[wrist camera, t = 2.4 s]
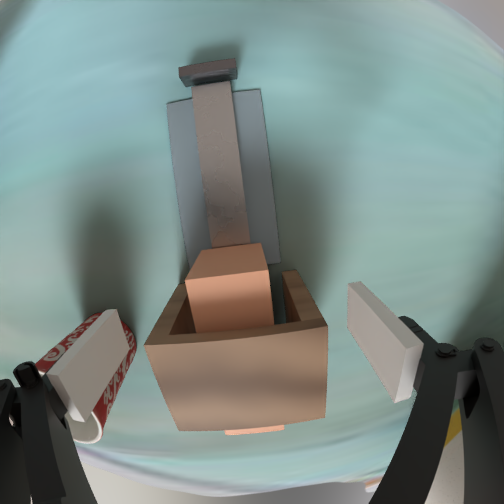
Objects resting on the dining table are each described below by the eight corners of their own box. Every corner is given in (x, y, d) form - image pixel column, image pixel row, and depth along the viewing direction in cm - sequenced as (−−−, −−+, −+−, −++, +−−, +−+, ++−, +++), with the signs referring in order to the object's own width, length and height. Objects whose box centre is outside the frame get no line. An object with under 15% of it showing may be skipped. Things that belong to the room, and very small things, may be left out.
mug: (78, 294, 28) (10, 353, 15) (147, 317, 29) (97, 398, 16) (82, 372, 31) (38, 436, 18) (140, 394, 32) (109, 470, 19)
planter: (469, 310, 31) (591, 411, 4) (514, 353, 35) (584, 419, 8) (361, 439, 36) (410, 566, 10) (435, 446, 40) (480, 525, 14)
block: (276, 378, 30) (284, 429, 22) (228, 383, 30) (225, 435, 22) (260, 242, 26) (268, 269, 18) (201, 250, 26) (184, 280, 18)
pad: (280, 262, 28) (280, 262, 27) (190, 273, 28) (190, 273, 28) (259, 90, 23) (259, 89, 23) (167, 104, 23) (166, 104, 23)
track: (271, 359, 31) (274, 375, 28) (228, 364, 31) (227, 380, 28) (235, 70, 23) (235, 58, 20) (184, 78, 23) (178, 67, 20)
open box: (301, 344, 30) (325, 417, 19) (196, 356, 30) (178, 430, 19) (296, 269, 28) (328, 326, 17) (178, 284, 28) (143, 345, 17)
